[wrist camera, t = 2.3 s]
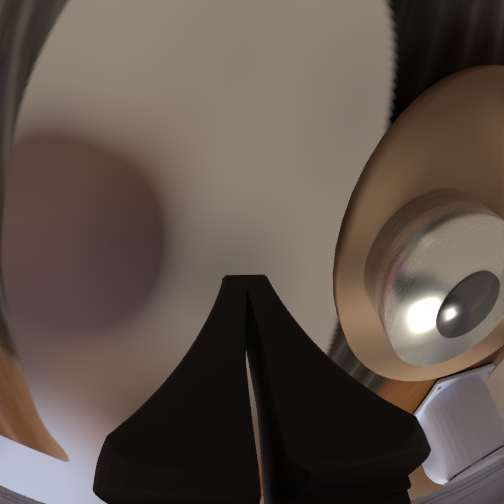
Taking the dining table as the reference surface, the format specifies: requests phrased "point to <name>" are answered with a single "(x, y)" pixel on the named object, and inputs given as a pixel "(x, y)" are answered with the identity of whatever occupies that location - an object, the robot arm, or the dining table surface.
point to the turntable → (412, 185)
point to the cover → (437, 276)
